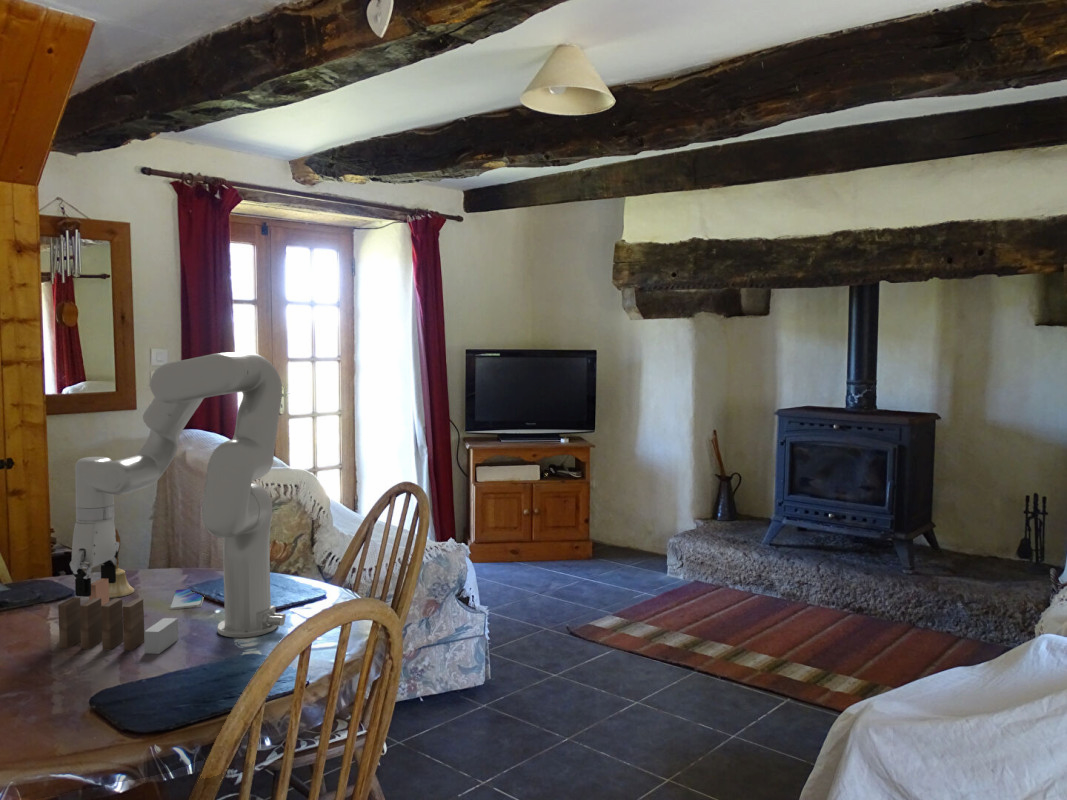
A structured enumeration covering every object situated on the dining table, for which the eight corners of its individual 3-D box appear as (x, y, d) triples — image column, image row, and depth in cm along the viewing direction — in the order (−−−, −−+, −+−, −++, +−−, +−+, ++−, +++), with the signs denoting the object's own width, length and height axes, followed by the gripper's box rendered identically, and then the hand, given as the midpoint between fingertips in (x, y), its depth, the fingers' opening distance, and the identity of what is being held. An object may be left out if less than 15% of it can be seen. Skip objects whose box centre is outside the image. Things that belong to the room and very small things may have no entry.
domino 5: (144, 641, 177) (143, 599, 177) (131, 650, 172) (130, 606, 172) (137, 641, 177) (135, 598, 177) (124, 650, 172) (122, 606, 172)
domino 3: (102, 640, 178) (101, 598, 177) (88, 649, 173) (87, 605, 172) (95, 640, 178) (93, 597, 177) (81, 648, 173) (79, 605, 172)
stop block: (178, 639, 178) (177, 618, 178) (159, 653, 171) (158, 631, 170) (164, 639, 179) (163, 618, 178) (144, 653, 171) (144, 631, 170)
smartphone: (168, 608, 197) (175, 589, 212) (168, 612, 197) (175, 593, 212) (201, 604, 199) (206, 586, 214) (201, 608, 199) (206, 589, 214)
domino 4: (123, 640, 178) (122, 598, 177) (110, 649, 173) (108, 606, 172) (116, 640, 178) (114, 598, 177) (102, 649, 173) (101, 606, 172)
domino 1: (81, 639, 178) (80, 597, 177) (67, 648, 173) (65, 605, 172) (74, 639, 178) (72, 597, 178) (59, 648, 173) (58, 605, 173)
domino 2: (109, 617, 192) (108, 578, 191) (97, 625, 187) (95, 585, 186) (102, 617, 192) (101, 578, 191) (90, 625, 187) (88, 585, 186)
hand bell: (100, 589, 213) (98, 526, 211) (136, 587, 215) (134, 524, 214) (94, 599, 205) (91, 534, 203) (131, 596, 207) (129, 532, 206)
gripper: (100, 504, 196) (101, 577, 198) (54, 521, 179) (55, 600, 181) (132, 505, 196) (133, 578, 197) (89, 522, 179) (90, 602, 180)
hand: (96, 589), depth 189 cm, fingers open, 9 cm apart
